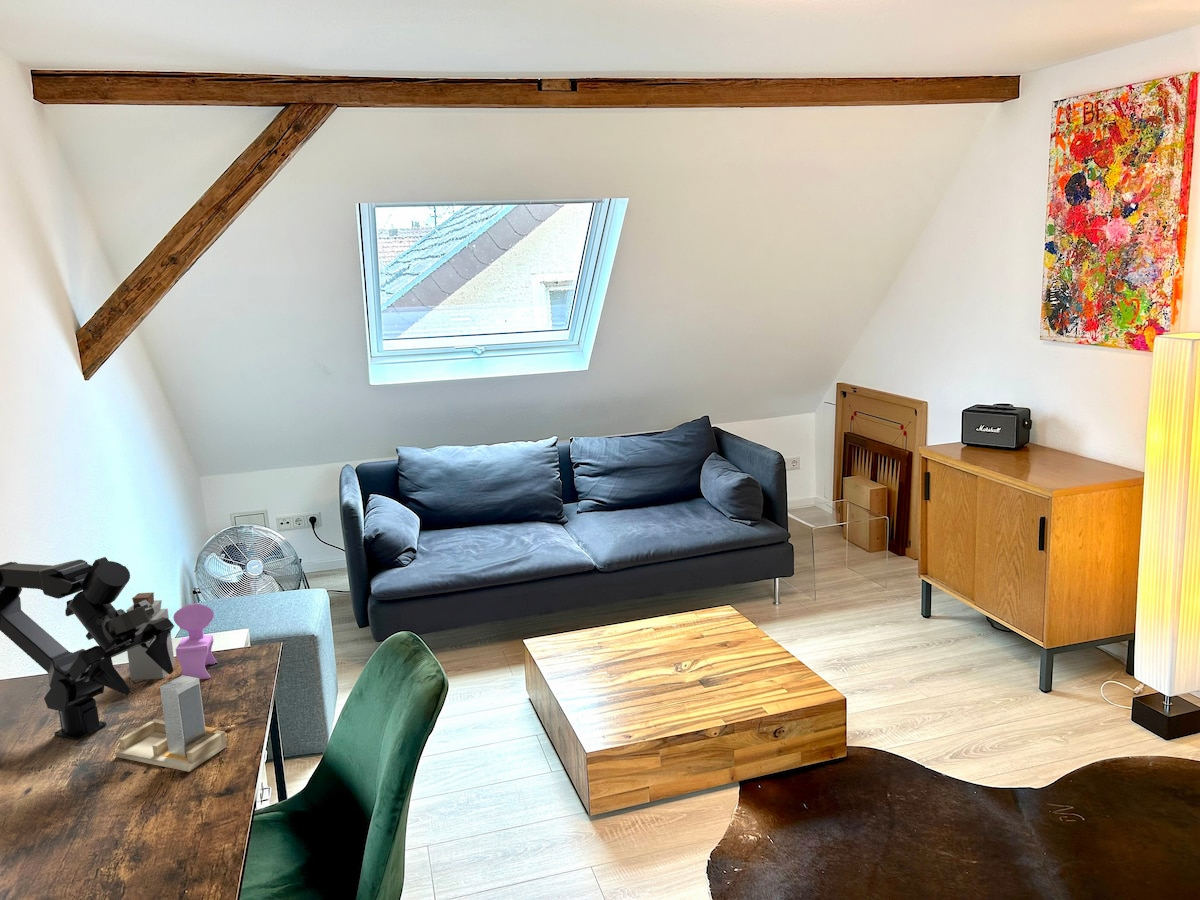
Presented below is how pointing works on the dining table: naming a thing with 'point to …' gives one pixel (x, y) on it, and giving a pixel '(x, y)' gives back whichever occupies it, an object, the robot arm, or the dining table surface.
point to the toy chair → (195, 640)
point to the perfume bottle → (137, 657)
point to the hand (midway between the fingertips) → (151, 683)
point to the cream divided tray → (153, 747)
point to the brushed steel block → (183, 715)
